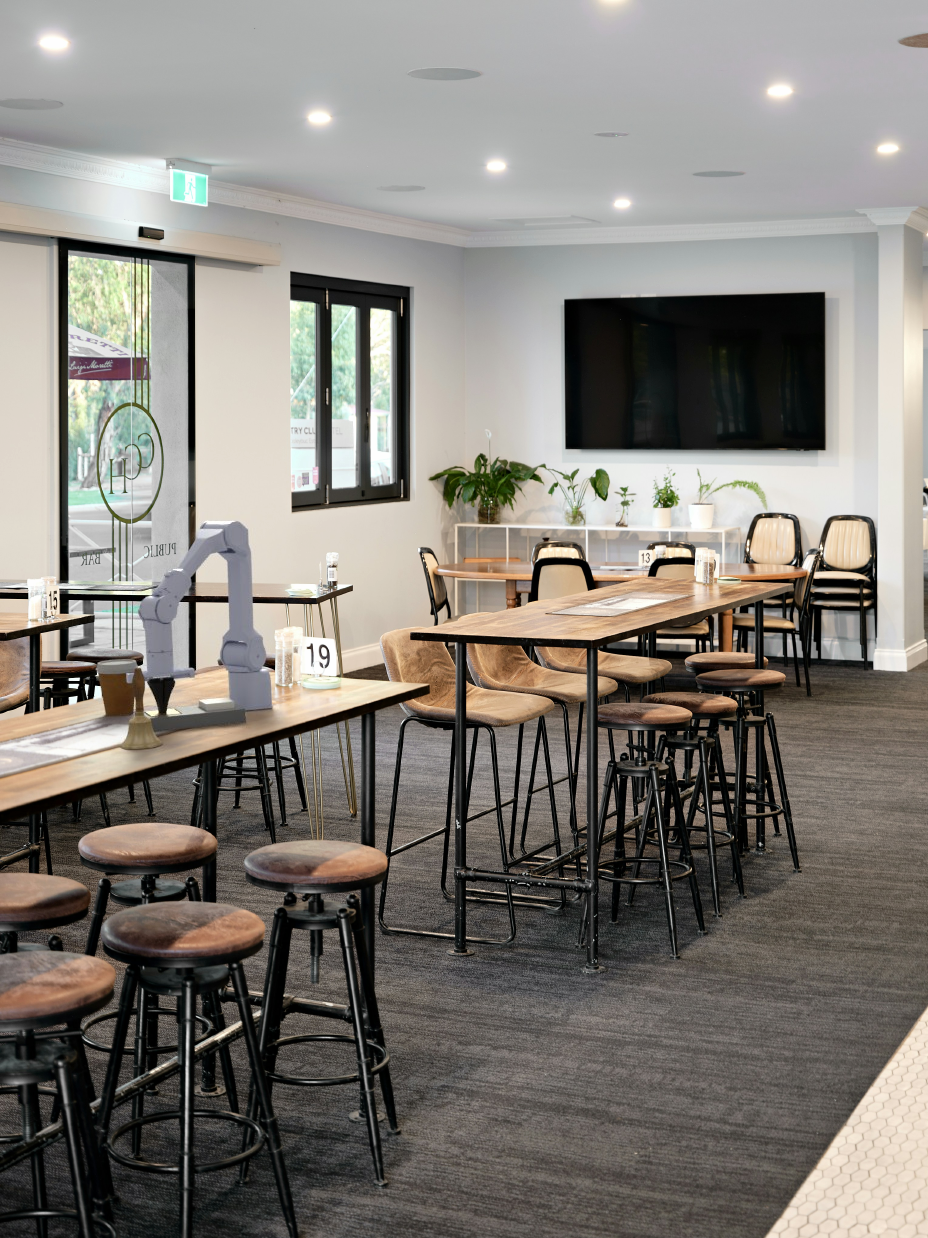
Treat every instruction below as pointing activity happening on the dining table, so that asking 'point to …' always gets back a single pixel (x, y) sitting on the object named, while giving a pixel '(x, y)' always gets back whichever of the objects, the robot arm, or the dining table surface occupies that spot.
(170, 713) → the brass button
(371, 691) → the dining table surface
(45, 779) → the dining table surface
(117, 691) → the disposable coffee cup
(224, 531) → the robot arm
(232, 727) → the dining table surface
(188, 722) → the panel
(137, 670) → the hand bell
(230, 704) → the white button
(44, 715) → the dining table surface
